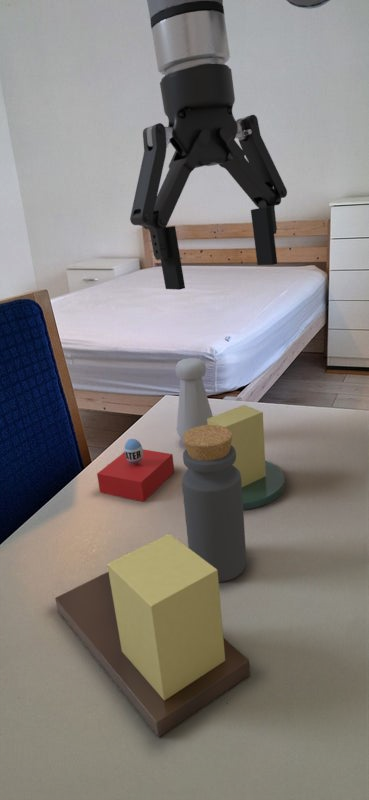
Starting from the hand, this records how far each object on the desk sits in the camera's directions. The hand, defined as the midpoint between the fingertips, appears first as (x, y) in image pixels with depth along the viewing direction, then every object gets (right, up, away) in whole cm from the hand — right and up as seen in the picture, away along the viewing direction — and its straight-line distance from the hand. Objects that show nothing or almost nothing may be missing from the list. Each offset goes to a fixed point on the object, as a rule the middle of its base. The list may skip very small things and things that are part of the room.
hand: (223, 276), depth 68 cm
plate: (+2, -25, +9) cm, 27 cm away
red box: (-11, -25, +12) cm, 30 cm away
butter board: (-8, -36, -15) cm, 40 cm away
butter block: (-5, -35, -19) cm, 41 cm away
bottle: (-1, -32, -6) cm, 32 cm away
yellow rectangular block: (+2, -24, +8) cm, 26 cm away
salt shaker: (-3, -21, +22) cm, 30 cm away
